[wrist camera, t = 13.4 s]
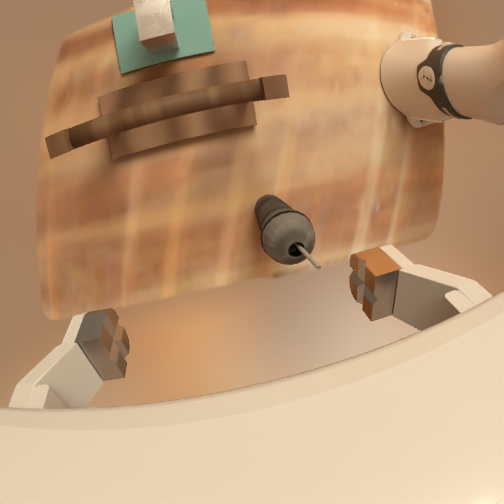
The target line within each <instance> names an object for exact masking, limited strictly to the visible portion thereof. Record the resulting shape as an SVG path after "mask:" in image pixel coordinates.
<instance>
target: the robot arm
mask: <svg viewBox="0 0 504 504" xmlns="http://www.w3.org/2000/svg"><path fill="white" fill-rule="evenodd" d="M381 81H382V85H383V89H384V91H385V93H386V95H387V97H388V99H389V100H390V102H391V103H392V104H393V106H394V107H395V108H396V109H398V110H399V111H400V112H402V113H403V114H404V115H405V116H406V118H407V120H408V121H409V123H410V124H411V126H412V127H414V128H420V127H423V126H427V125H430V124H433V123H442V122H443V121H445V120H448V119H451V118H458V119H472V118H474V119H478V120H482V121H486V122H490V123H494V124H498V125H504V38H503V39H502V40H500V41H499V42H497V43H494V44H491V45H484V46H472V47H464V46H462V45H456V44H453V43H450V42H443V43H442V40H441V39H434V38H432V37H426V38H424V37H421V36H419V35H416V34H414V33H411V32H408V31H403V32H401V34H400V35H399V38H398V40H397V42H396V43H395V44H394V45H392V46H391V47H390V48H389V49H388V50H387V51H386V53H385V54H384V56H383V59H382V63H381ZM420 120H421V122H420ZM350 267H352V269H353V272H352V274H351V275H350V289H351V292H352V295H353V297H354V298H355V300H356V301H357V302H359V303H361V304H363V311H364V312H365V314H366V315H367V316H368V318H369V319H370V321H374V320H377V319H381V318H384V317H387V316H390V315H393V316H394V317H396V318H398V319H400V320H402V321H403V322H405V323H407V324H409V325H411V326H413V327H415V328H417V329H419V330H421V331H420V332H417V333H415V334H413V335H410V336H408V337H405V338H403V339H400V340H398V341H395V342H393V343H390V344H388V345H385V346H382V347H380V348H377V349H374V350H371V351H369V352H366V353H363V354H360V355H357V356H354V357H351V358H348V359H345V360H342V361H339V362H336V363H333V364H329V365H326V366H323V367H320V368H316V369H313V370H309V371H306V372H302V373H299V374H295V375H291V376H287V377H283V378H280V379H276V380H272V381H268V382H263V383H259V384H255V385H251V386H246V387H242V388H237V389H232V390H227V391H222V392H217V393H212V394H207V395H201V396H195V397H189V398H182V399H175V400H168V401H161V402H153V403H144V404H134V405H124V406H112V407H96V408H86V407H87V405H88V404H89V402H90V401H91V399H92V398H93V397H94V395H95V394H96V392H97V391H98V389H99V388H100V386H101V385H102V384H103V381H105V380H112V379H119V378H125V373H126V366H127V362H126V361H125V359H124V358H125V357H126V356H127V355H128V354H129V348H130V347H129V339H128V336H127V333H126V331H125V329H124V327H122V326H120V325H119V324H118V319H119V317H118V315H117V314H116V312H115V310H114V309H112V308H109V309H103V310H98V311H92V312H87V313H86V312H85V313H80V314H76V315H74V316H73V318H72V320H71V323H70V325H69V327H68V330H67V332H66V334H65V337H64V339H63V342H62V344H61V345H58V346H57V347H56V348H55V349H54V350H53V351H51V352H50V353H49V354H48V355H47V356H46V357H45V358H44V359H43V360H42V361H41V362H40V363H39V364H38V365H37V366H35V368H34V369H32V370H31V371H30V372H29V373H28V374H27V375H26V376H25V377H24V378H23V379H22V380H21V381H20V382H19V383H18V384H17V385H16V388H15V390H14V393H13V396H12V399H11V401H10V404H9V407H0V504H504V291H502V292H500V293H498V294H497V295H495V296H492V295H491V294H489V293H488V292H487V291H486V290H485V289H484V288H483V287H482V286H481V285H479V284H478V283H477V282H476V281H475V280H472V279H468V278H465V277H462V276H458V275H455V274H451V273H448V272H445V271H441V270H438V269H434V268H431V267H427V266H424V265H420V264H416V265H414V264H413V263H412V262H411V261H410V260H409V259H407V258H406V257H405V256H404V255H403V254H402V253H401V252H399V251H398V250H397V249H396V248H395V247H394V246H392V245H390V244H386V245H383V246H380V247H376V248H373V249H370V250H366V251H363V252H359V253H355V254H352V255H351V257H350Z"/></svg>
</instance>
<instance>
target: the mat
mask: <svg viewBox="0 0 504 504" xmlns="http://www.w3.org/2000/svg"><path fill="white" fill-rule="evenodd" d="M171 3H172V7H173V13H174V17H173V23H174V27H175V31H176V34H177V38H178V42H179V48H180V49H176V50H172V51H168V52H164V53H160V54H156V55H152V54H151V53H150V52H149V51H148V50H147V49H146V48H145V46H144V45H143V44H142V43H141V42H140V41H139V35H138V28H137V22H136V15H135V10H133V11H130V12H127V13H124V14H121V15H118V16H115V17H112V22H113V29H114V35H115V42H116V48H117V54H118V59H119V65H120V70H121V74H124V73H127V72H130V71H134V70H137V69H140V68H144V67H147V66H151V65H155V64H158V63H162V62H166V61H170V60H174V59H179V58H183V57H188V56H192V55H197V54H202V53H208V52H213V51H215V49H214V43H213V38H212V33H211V27H210V22H209V17H208V11H207V6H206V1H205V0H172V1H171Z"/></svg>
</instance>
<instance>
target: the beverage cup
mask: <svg viewBox="0 0 504 504" xmlns="http://www.w3.org/2000/svg"><path fill="white" fill-rule="evenodd" d="M255 211H256V217H257V220H258V224H259V227H260V231H261V244H262V247H263V249H264V251H265V252H266V253H267V254H268V255H269V256H270V257H271V258H272V259H274V260H275V261H276V262H279V263H282V264H288V265H293V264H297V263H300V262H302V261H303V260H305V259H306V258H307V259H308V260H309V261H310V262H311V263H312V264H313V265H314V266H315V267H316V268H317V269H318V270H319V269H321V266H320V265H319V264H318V263H317V262H316V261H315V260H314V259H313V258H312V257H311V255H310V254H311V252H312V250H313V248H314V244H315V232H314V229H313V226H312V224H311V221H310V220H309V219H308V218H307V217H306V216H305V215H304V214H302V213H300V212H298V211H295V210H294V209H292V208H291V207H290V206H288V205H287V204H286V203H285V202H283V201H282V200H281V199H279V198H277V197H276V196H274V195H265V196H263V197H261V198H260V199H259V200H258V201H257V203H256V206H255Z"/></svg>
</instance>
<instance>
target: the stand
mask: <svg viewBox="0 0 504 504" xmlns="http://www.w3.org/2000/svg"><path fill="white" fill-rule="evenodd" d="M286 97H289V91H288V84H287V78H286V75H276V76H268V77H261V78H259V79H253V80H249V76H248V70H247V65H246V61H240V62H233V63H227V64H221V65H216V66H210V67H205V68H200V69H195V70H190V71H186V72H181V73H177V74H173V75H169V76H165V77H161V78H157V79H154V80H150V81H146V82H143V83H140V84H136V85H133V86H130V87H127V88H123V89H120V90H117V91H114V92H111V93H108V94H106V95H103V96H100V97H98V101H99V106H100V110H101V115H102V116H101V117H98V118H96V119H93V120H90V121H87V122H85V123H82V124H80V125H77V126H75V127H72V128H69V129H65V130H62V131H60V132H58V133H55V134H53V135H51V136H48V137H46V138H45V140H46V144H47V148H48V152H49V155H50V159H52V158H54V157H57V156H59V155H62V154H64V153H67V152H69V151H71V150H73V149H76V148H78V147H81V146H84V145H86V144H89V143H92V142H95V141H97V140H100V139H103V138H106V137H107V140H108V144H109V147H110V151H111V155H112V159H116V158H119V157H122V156H125V155H129V154H132V153H135V152H139V151H142V150H146V149H149V148H153V147H157V146H160V145H164V144H168V143H172V142H176V141H180V140H184V139H188V138H192V137H197V136H201V135H206V134H210V133H215V132H220V131H225V130H230V129H235V128H240V127H246V126H251V125H257V122H256V116H255V110H254V104H253V102H254V101H260V100H271V99H278V98H286Z"/></svg>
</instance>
